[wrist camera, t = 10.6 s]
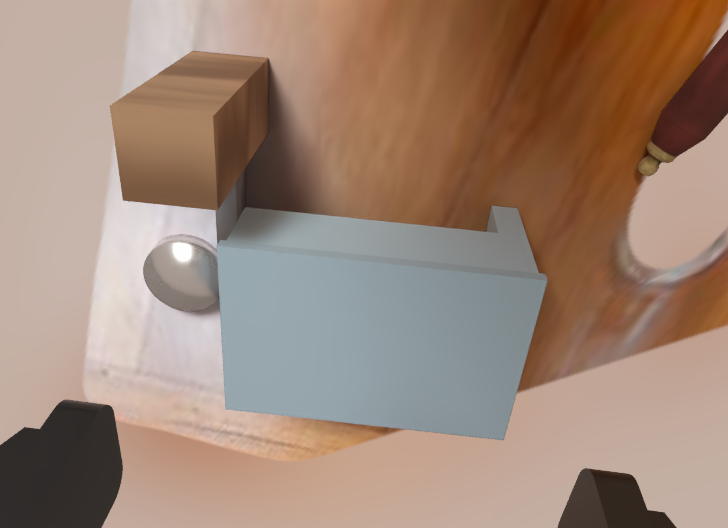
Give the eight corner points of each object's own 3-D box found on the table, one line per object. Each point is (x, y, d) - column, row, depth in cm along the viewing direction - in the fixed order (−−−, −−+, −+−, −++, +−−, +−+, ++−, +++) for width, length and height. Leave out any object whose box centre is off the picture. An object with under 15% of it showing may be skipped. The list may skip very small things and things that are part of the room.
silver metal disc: (147, 228, 38) (138, 239, 37) (226, 236, 38) (220, 247, 37) (156, 295, 41) (148, 307, 39) (230, 302, 40) (224, 315, 39)
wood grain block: (192, 50, 32) (110, 105, 23) (268, 58, 32) (212, 115, 23) (209, 302, 40) (152, 410, 32) (269, 308, 40) (228, 419, 32)
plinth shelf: (256, 178, 35) (216, 245, 28) (521, 205, 35) (547, 280, 28) (258, 322, 41) (225, 409, 34) (488, 347, 40) (503, 440, 33)
